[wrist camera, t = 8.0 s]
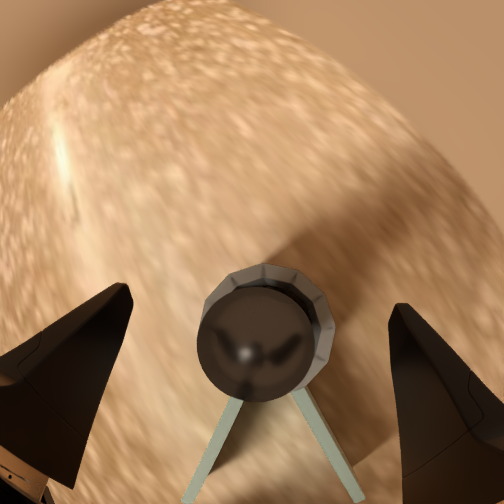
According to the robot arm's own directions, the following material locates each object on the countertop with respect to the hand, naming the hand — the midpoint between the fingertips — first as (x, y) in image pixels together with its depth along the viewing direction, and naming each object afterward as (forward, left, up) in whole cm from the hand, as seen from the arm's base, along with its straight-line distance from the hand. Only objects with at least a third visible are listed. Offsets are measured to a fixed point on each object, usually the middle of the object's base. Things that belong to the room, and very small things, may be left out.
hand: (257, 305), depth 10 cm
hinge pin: (-1, 0, -13) cm, 13 cm away
